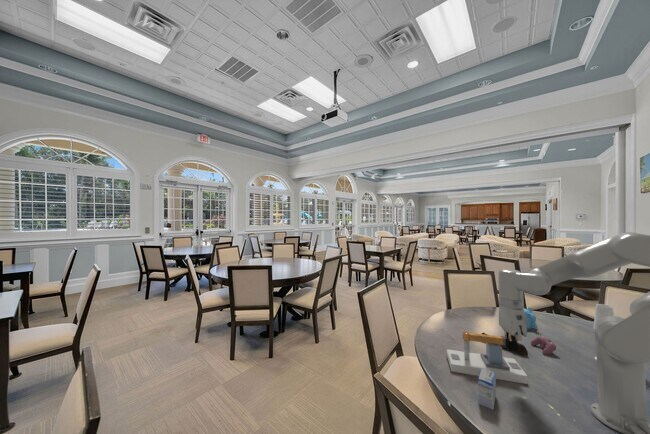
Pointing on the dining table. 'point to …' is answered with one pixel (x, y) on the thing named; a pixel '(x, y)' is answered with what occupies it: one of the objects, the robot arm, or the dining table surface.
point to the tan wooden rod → (484, 338)
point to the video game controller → (544, 344)
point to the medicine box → (487, 388)
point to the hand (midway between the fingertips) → (511, 350)
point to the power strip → (484, 365)
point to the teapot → (530, 318)
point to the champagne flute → (602, 313)
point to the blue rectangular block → (494, 353)
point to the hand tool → (518, 348)
